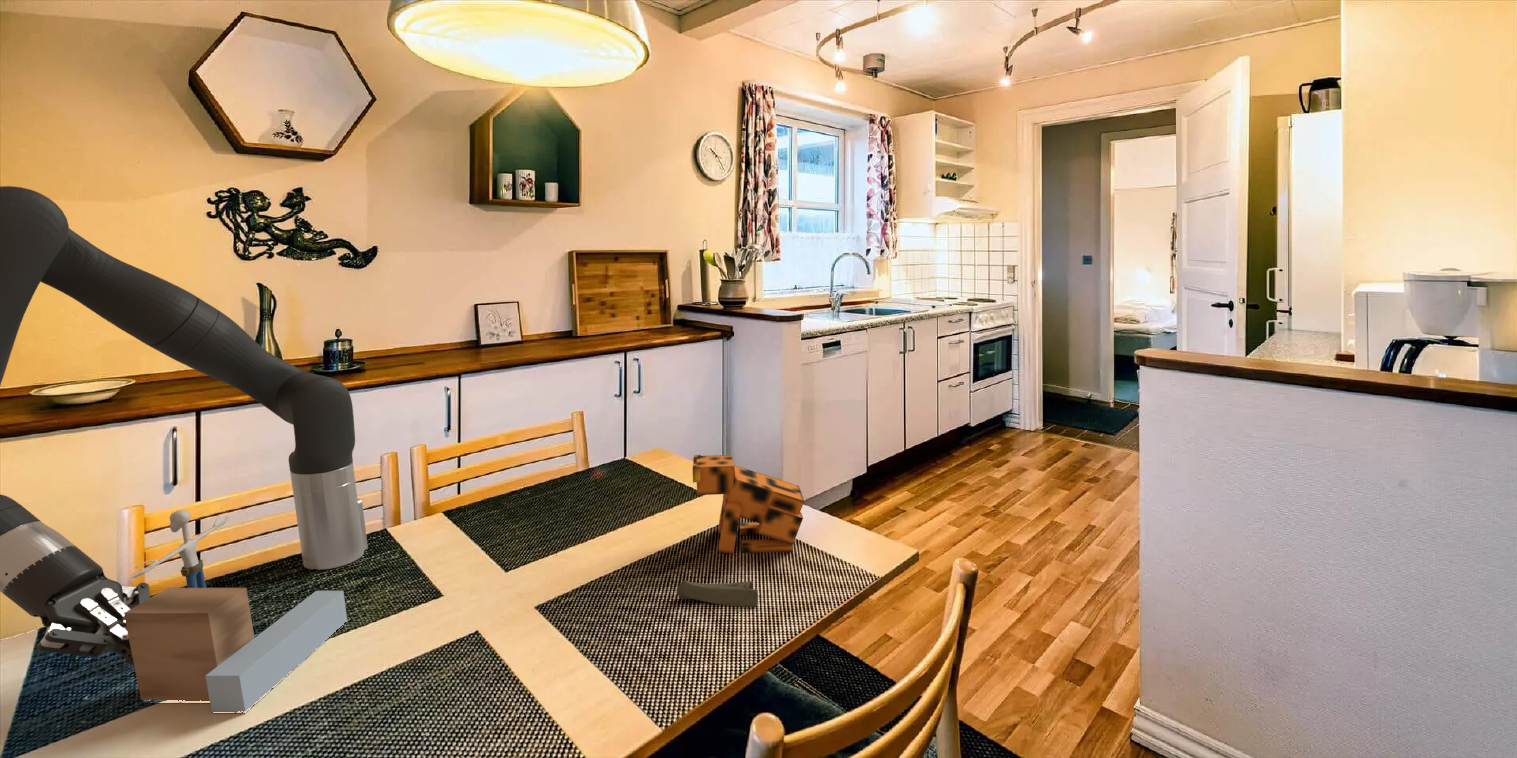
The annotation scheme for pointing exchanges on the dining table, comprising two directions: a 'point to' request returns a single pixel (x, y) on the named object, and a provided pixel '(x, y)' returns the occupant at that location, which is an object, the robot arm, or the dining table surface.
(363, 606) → the dining table surface
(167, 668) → the walnut block
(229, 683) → the blue-gray rectangular bar
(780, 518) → the toy animal
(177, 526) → the alien figure
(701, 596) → the grey long curved piece
